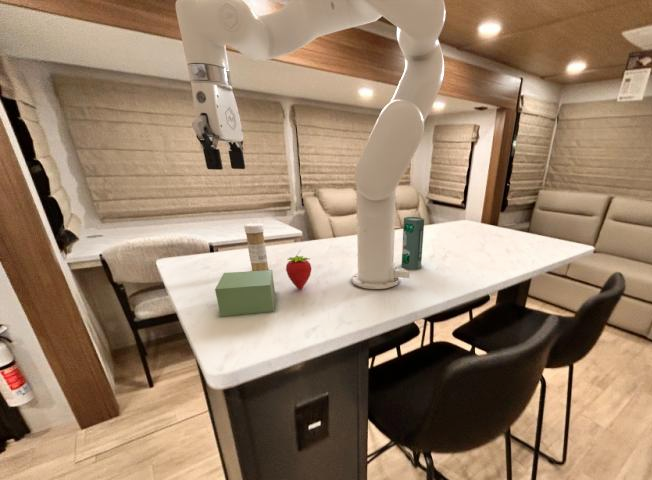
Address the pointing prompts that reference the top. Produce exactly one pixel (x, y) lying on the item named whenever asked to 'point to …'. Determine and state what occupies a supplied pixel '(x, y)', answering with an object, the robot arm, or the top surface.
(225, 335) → the top surface
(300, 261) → the strawberry
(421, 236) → the can
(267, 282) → the green block
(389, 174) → the robot arm
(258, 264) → the sprinkles bottle
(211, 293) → the top surface
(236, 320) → the top surface
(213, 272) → the top surface
